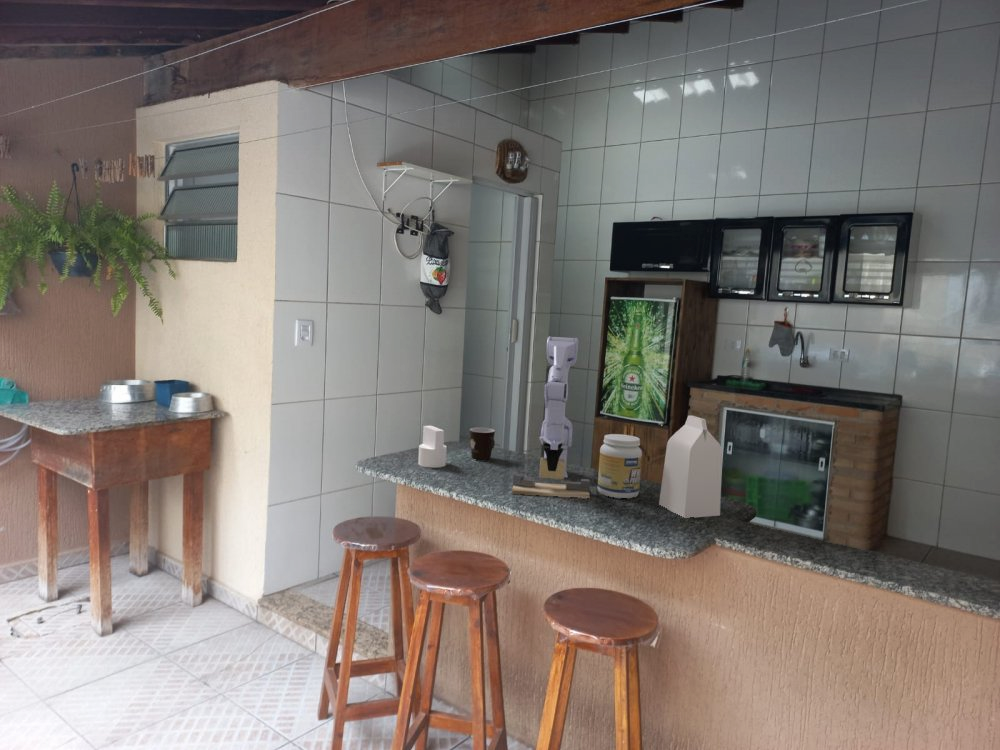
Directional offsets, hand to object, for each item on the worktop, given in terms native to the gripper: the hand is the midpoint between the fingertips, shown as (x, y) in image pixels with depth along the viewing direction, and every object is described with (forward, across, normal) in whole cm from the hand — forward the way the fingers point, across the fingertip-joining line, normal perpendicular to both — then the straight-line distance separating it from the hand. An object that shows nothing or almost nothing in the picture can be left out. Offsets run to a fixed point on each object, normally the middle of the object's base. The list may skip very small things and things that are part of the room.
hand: (551, 468), depth 202 cm
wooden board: (+7, 0, 0) cm, 7 cm away
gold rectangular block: (+2, 0, 0) cm, 2 cm away
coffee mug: (+7, -34, -22) cm, 41 cm away
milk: (+7, +10, +38) cm, 40 cm away
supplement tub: (+7, -2, +20) cm, 21 cm away
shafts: (+6, -1, 0) cm, 6 cm away
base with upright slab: (+7, -24, -38) cm, 45 cm away
